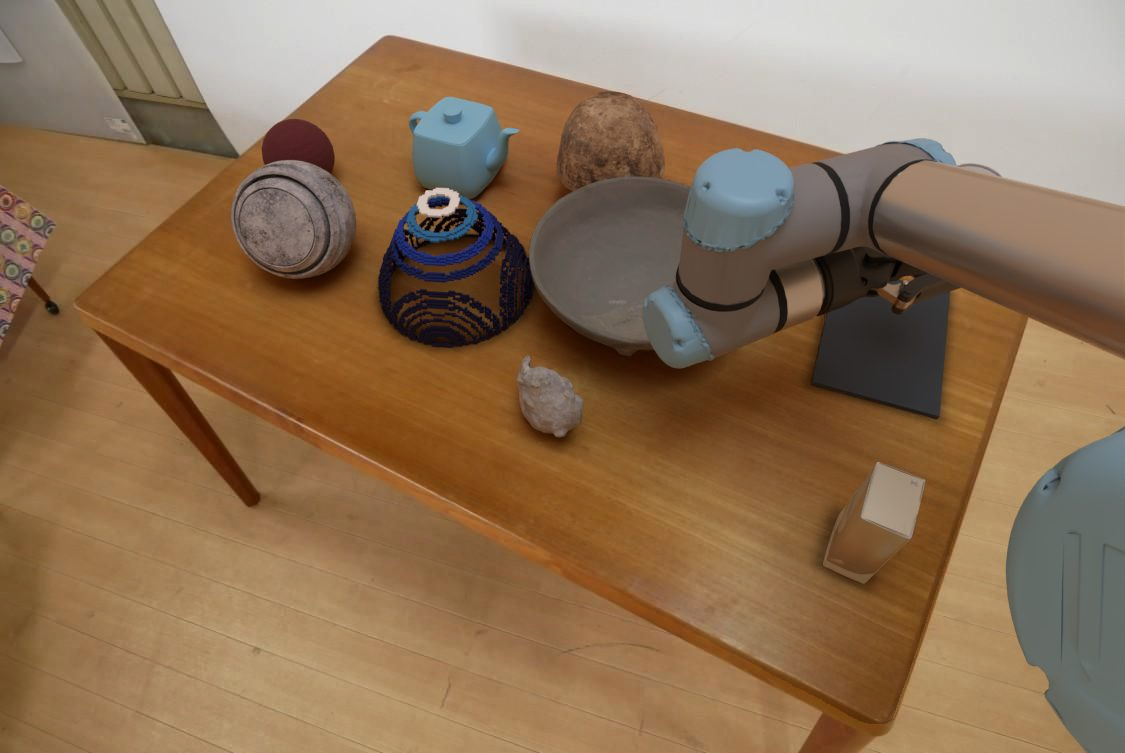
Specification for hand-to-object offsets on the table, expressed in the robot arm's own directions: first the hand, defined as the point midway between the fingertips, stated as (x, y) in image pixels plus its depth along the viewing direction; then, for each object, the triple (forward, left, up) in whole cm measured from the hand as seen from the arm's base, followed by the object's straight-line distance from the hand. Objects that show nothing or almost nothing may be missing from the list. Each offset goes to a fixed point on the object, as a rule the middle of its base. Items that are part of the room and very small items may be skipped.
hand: (993, 208), depth 70 cm
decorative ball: (-1, +88, -19) cm, 90 cm away
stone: (-28, +38, -19) cm, 51 cm away
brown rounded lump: (+11, +44, -19) cm, 49 cm away
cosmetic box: (-32, +4, -19) cm, 38 cm away
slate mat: (-3, +4, -19) cm, 20 cm away
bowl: (-8, +34, -19) cm, 40 cm away
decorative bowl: (-13, +57, -19) cm, 62 cm away
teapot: (+8, +65, -19) cm, 68 cm away
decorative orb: (-15, +78, -19) cm, 82 cm away
